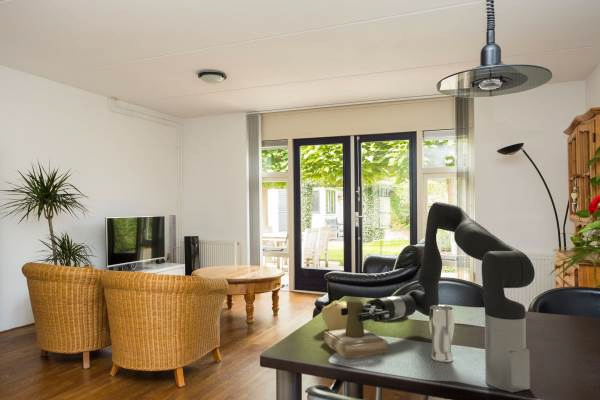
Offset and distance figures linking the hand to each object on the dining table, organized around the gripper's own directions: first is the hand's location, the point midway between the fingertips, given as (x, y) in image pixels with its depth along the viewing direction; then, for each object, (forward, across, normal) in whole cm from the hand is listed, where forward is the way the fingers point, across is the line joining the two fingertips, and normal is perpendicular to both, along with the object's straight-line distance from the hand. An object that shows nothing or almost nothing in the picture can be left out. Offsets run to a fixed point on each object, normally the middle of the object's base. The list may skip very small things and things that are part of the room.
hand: (349, 314), depth 132 cm
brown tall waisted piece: (-2, 0, +7) cm, 7 cm away
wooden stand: (-2, 0, +11) cm, 11 cm away
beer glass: (-18, +21, +11) cm, 29 cm away
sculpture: (-9, -17, +11) cm, 22 cm away
